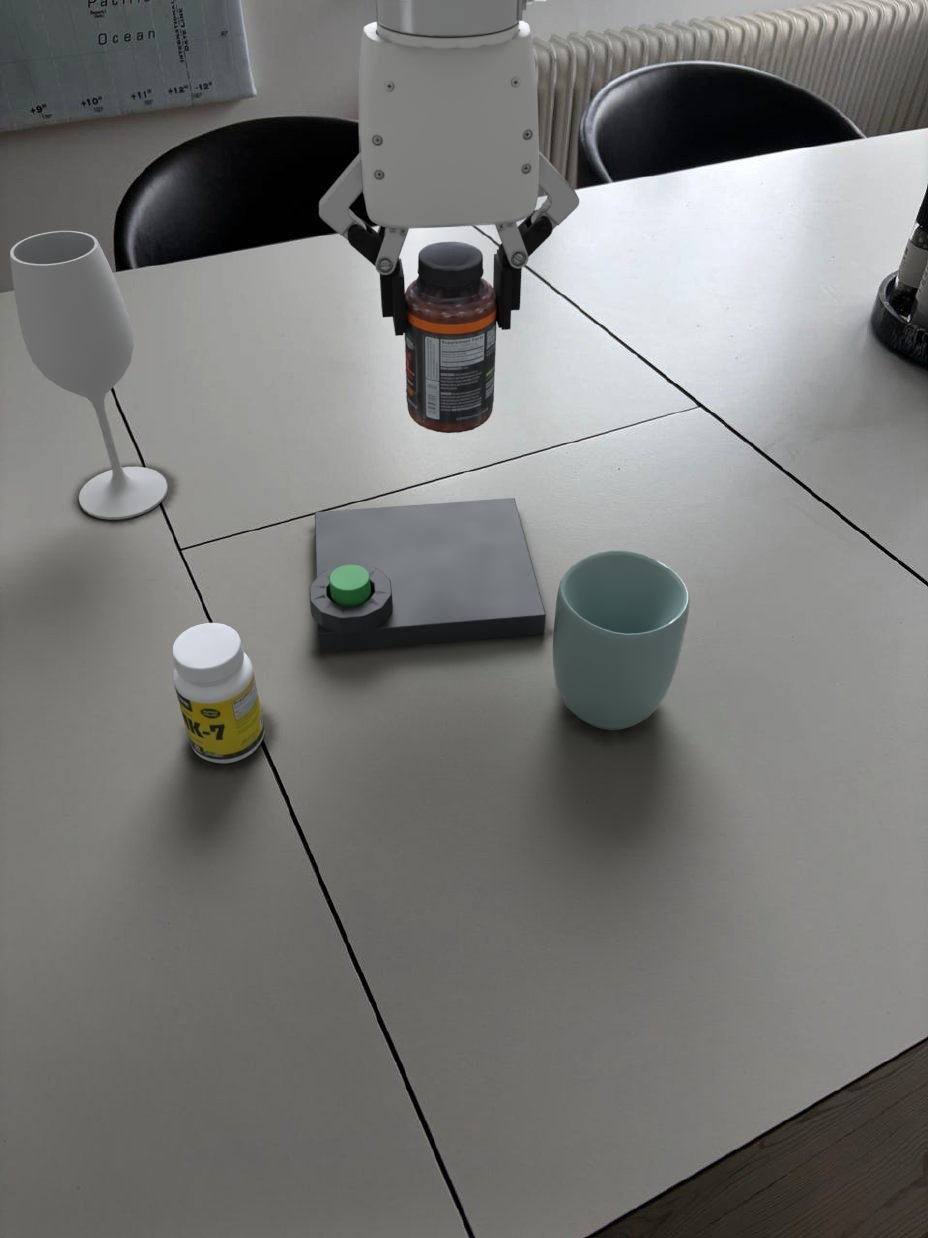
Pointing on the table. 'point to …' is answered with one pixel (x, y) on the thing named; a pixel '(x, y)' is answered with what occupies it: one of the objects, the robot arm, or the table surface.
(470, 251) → the supplement bottle
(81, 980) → the table surface
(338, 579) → the tare button
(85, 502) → the wineglass
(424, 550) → the scale
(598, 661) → the cup
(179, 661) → the supplement bottle
